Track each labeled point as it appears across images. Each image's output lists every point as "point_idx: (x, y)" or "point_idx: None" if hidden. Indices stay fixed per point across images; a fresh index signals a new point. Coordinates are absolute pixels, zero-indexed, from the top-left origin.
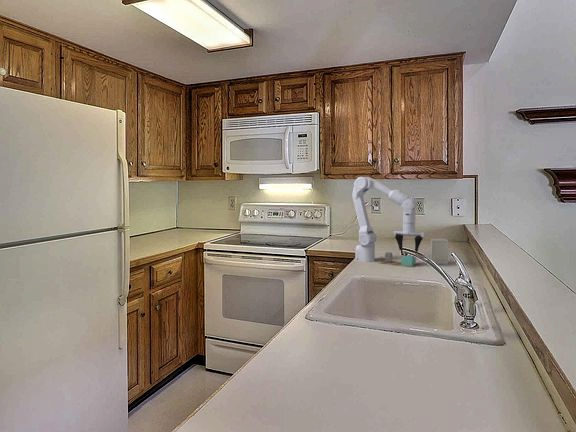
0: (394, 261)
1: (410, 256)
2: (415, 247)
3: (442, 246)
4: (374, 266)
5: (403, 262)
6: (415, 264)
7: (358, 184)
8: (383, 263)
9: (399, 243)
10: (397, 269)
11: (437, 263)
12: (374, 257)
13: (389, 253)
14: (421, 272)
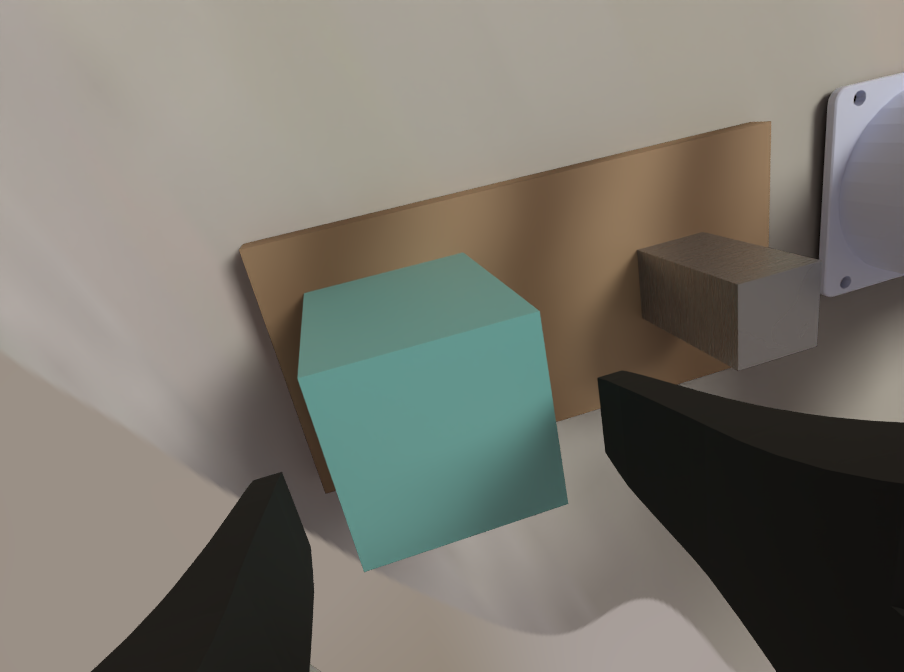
0: None
1: (333, 337)
2: (250, 528)
3: None
4: (758, 21)
5: (441, 269)
6: None
7: None
8: (705, 173)
9: (720, 420)
10: (420, 77)
11: None
12: (897, 224)
13: (751, 279)
14: (23, 153)
